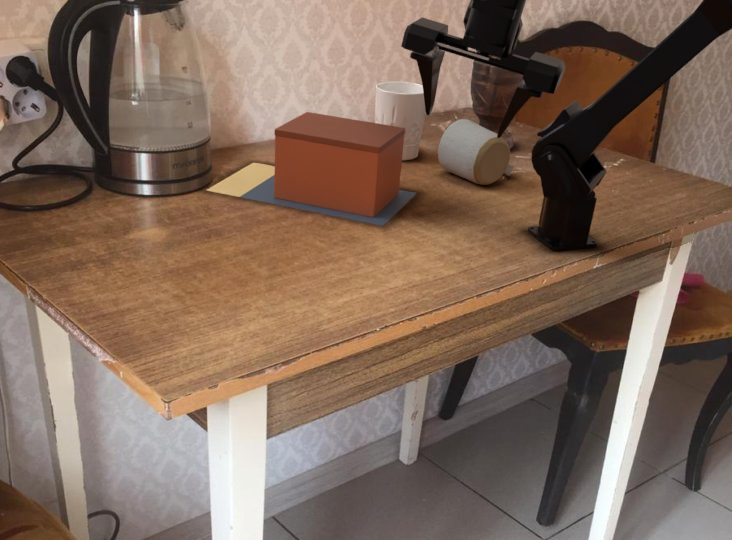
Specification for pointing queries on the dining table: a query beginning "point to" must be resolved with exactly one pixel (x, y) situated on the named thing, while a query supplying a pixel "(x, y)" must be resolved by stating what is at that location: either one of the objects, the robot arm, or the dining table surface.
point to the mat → (260, 187)
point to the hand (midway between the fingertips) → (463, 125)
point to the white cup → (402, 112)
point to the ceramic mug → (474, 152)
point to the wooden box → (338, 163)
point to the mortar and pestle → (493, 95)
